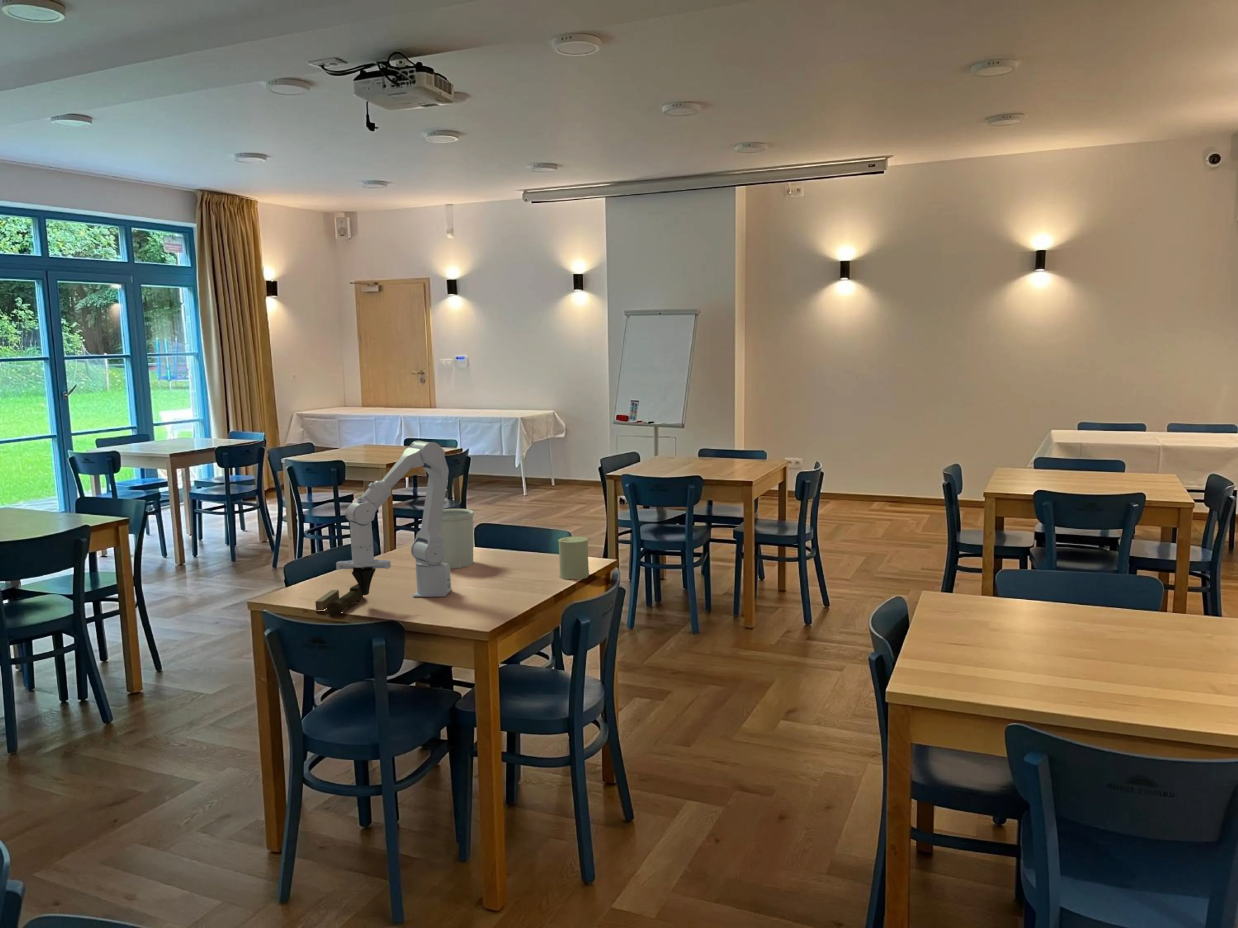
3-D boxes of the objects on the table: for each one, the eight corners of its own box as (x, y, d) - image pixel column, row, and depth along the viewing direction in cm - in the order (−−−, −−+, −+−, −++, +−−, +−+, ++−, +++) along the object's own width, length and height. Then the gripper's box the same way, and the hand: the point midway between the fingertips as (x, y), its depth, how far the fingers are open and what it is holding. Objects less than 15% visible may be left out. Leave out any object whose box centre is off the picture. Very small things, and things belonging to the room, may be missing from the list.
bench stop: (339, 600, 254) (338, 589, 254) (323, 612, 242) (322, 601, 242) (332, 600, 254) (331, 589, 254) (316, 612, 242) (315, 601, 242)
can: (556, 574, 278) (554, 536, 277) (584, 571, 281) (583, 533, 280) (563, 580, 270) (562, 541, 268) (592, 577, 272) (591, 539, 271)
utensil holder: (478, 558, 303) (476, 507, 301) (472, 568, 288) (470, 515, 286) (434, 560, 303) (431, 508, 301) (426, 570, 288) (424, 516, 286)
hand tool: (341, 616, 238) (340, 599, 237) (327, 616, 239) (326, 599, 238) (371, 598, 257) (371, 582, 256) (358, 597, 257) (357, 582, 257)
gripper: (330, 549, 241) (334, 598, 243) (383, 548, 240) (386, 597, 242) (340, 543, 248) (343, 591, 250) (391, 542, 247) (394, 590, 249)
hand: (365, 594), depth 246 cm, fingers closed
